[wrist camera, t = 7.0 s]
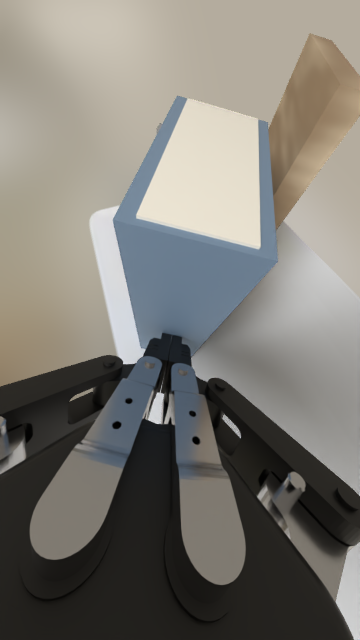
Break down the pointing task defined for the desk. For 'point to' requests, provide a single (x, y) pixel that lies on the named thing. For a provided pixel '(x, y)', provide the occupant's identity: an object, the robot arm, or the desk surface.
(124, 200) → the book
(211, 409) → the robot arm
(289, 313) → the desk surface
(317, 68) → the shelf
